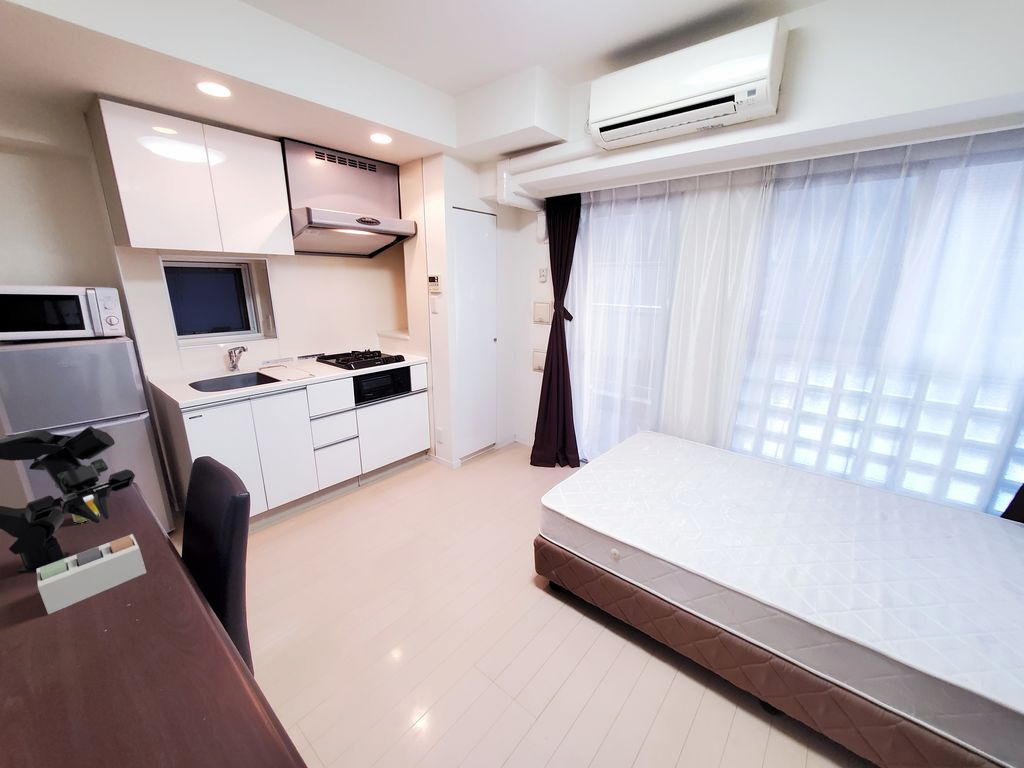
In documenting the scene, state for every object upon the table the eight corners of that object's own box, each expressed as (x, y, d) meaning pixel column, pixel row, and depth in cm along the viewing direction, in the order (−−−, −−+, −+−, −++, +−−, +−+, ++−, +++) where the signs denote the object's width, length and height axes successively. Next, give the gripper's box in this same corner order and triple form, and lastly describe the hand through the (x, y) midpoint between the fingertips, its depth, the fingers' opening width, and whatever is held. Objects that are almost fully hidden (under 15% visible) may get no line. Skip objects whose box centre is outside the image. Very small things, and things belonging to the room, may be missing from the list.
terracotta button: (112, 551, 96) (109, 542, 95) (131, 543, 99) (129, 535, 98) (114, 557, 94) (111, 548, 93) (134, 549, 97) (132, 540, 96)
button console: (46, 594, 90) (36, 568, 89) (139, 557, 102) (132, 534, 101) (48, 614, 85) (38, 587, 83) (146, 572, 97) (139, 548, 95)
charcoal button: (79, 563, 92) (76, 554, 91) (100, 555, 95) (98, 546, 94) (80, 570, 90) (77, 561, 89) (103, 561, 92) (100, 552, 92)
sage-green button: (43, 576, 88) (40, 567, 87) (67, 567, 91) (64, 559, 90) (44, 584, 86) (40, 574, 85) (68, 574, 88) (65, 565, 88)
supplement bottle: (104, 515, 122) (95, 486, 119) (82, 525, 117) (72, 496, 114) (92, 513, 123) (83, 484, 121) (69, 523, 118) (59, 493, 116)
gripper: (13, 471, 86) (52, 526, 85) (121, 440, 103) (156, 486, 102) (9, 496, 91) (47, 549, 90) (113, 463, 108) (146, 506, 107)
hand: (103, 520), depth 97 cm, fingers closed
